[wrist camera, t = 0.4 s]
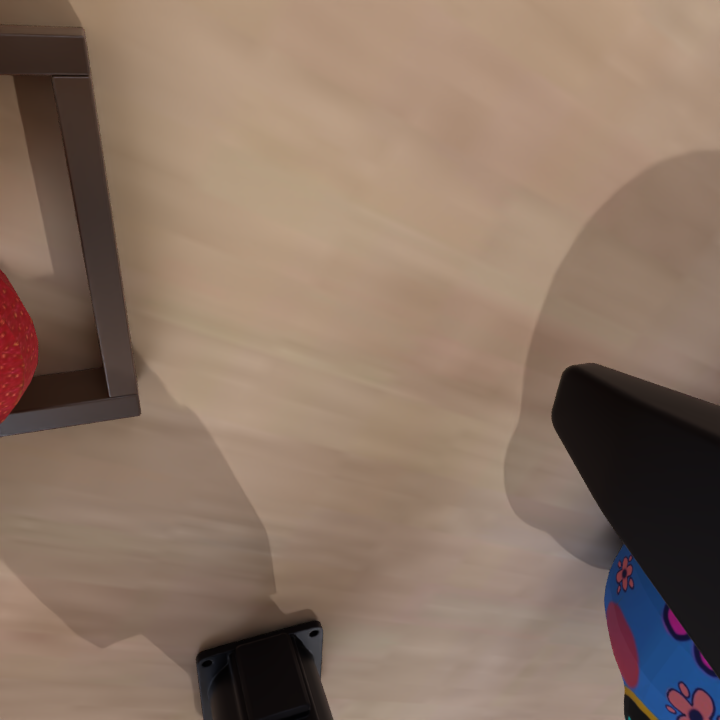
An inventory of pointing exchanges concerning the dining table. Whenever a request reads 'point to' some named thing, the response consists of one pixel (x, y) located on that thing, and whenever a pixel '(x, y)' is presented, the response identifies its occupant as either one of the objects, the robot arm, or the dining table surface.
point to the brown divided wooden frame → (97, 234)
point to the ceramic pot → (655, 651)
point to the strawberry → (14, 348)
